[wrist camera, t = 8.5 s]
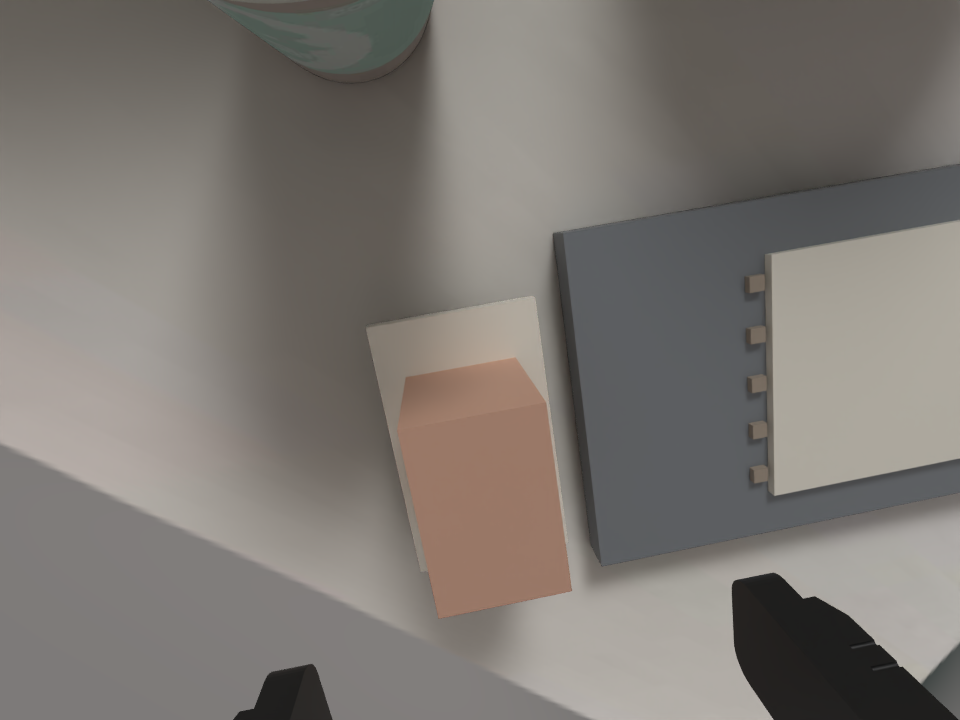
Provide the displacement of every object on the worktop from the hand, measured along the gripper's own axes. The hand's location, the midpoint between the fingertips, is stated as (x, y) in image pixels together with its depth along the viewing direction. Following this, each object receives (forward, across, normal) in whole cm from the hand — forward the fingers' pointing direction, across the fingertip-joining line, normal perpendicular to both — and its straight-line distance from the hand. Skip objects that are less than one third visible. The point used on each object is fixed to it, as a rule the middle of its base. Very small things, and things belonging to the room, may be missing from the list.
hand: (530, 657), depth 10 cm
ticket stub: (+10, 0, 0) cm, 10 cm away
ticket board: (+12, -14, 0) cm, 19 cm away
